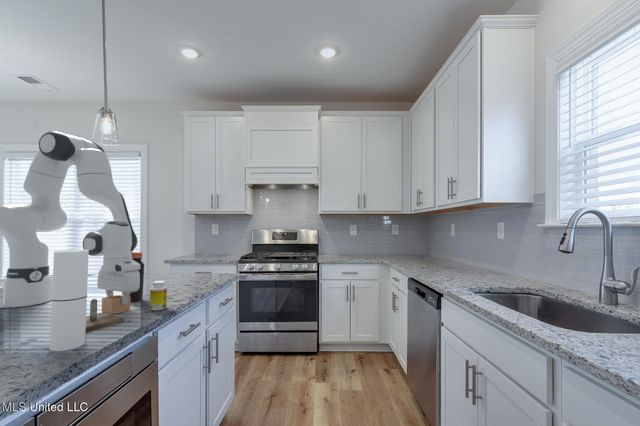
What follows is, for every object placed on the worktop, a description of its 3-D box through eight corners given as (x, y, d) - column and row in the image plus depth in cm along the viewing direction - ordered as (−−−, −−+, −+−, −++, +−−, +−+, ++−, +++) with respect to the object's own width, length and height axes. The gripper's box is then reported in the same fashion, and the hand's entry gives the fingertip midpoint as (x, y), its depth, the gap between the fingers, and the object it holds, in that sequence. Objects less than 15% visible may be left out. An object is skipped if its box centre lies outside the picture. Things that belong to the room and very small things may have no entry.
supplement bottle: (165, 310, 111) (166, 282, 112) (148, 311, 109) (149, 283, 110) (167, 306, 116) (168, 279, 117) (151, 307, 115) (152, 280, 115)
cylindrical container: (55, 353, 74) (60, 252, 75) (45, 347, 78) (49, 250, 79) (89, 344, 80) (93, 250, 81) (78, 338, 84) (82, 249, 85)
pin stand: (60, 327, 92) (61, 300, 92) (102, 316, 103) (103, 292, 103) (81, 334, 87) (82, 306, 87) (123, 322, 98) (124, 297, 98)
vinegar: (131, 297, 128) (134, 251, 129) (146, 298, 127) (148, 252, 128) (119, 302, 121) (121, 252, 122) (134, 303, 120) (137, 253, 121)
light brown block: (101, 311, 108) (101, 298, 108) (119, 307, 114) (120, 294, 114) (111, 314, 105) (112, 300, 105) (130, 309, 111) (130, 296, 111)
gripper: (92, 265, 112) (92, 302, 112) (125, 267, 103) (125, 307, 103) (110, 262, 118) (110, 298, 117) (143, 265, 109) (143, 303, 108)
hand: (117, 302), depth 110 cm, fingers closed on light brown block, 6 cm apart
